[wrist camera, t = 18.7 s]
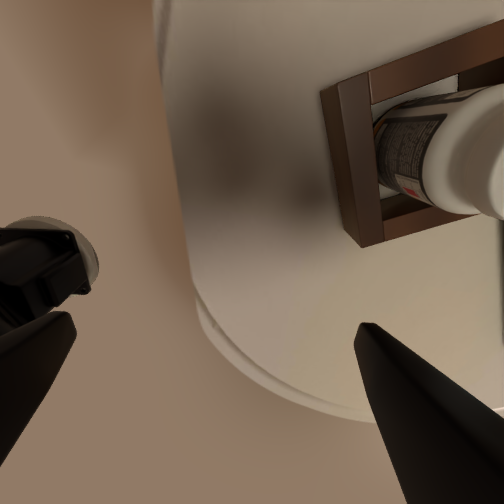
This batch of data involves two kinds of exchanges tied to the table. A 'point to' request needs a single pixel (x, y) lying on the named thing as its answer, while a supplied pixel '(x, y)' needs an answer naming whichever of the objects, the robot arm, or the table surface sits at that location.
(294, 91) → the table surface
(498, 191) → the white rounded container
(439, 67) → the holder
